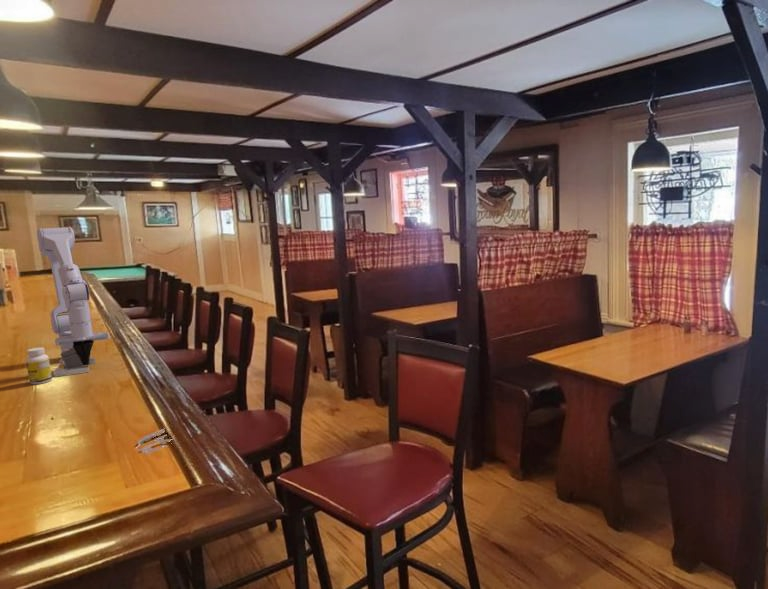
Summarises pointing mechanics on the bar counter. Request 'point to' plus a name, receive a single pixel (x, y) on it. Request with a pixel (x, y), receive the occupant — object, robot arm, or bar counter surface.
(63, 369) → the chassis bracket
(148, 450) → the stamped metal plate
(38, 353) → the supplement bottle
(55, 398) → the bar counter surface
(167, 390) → the bar counter surface
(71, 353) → the servo block
